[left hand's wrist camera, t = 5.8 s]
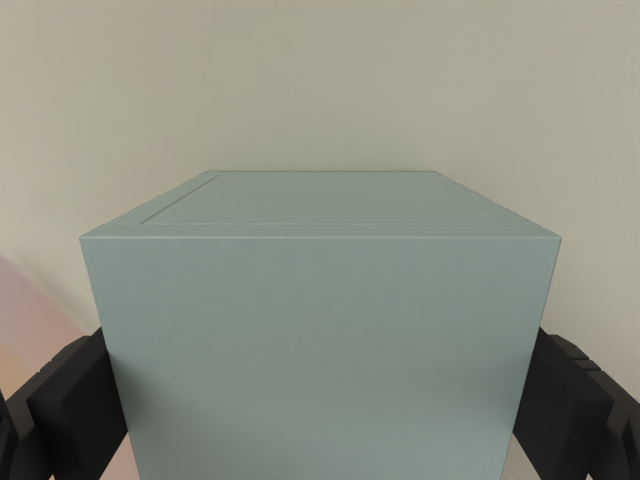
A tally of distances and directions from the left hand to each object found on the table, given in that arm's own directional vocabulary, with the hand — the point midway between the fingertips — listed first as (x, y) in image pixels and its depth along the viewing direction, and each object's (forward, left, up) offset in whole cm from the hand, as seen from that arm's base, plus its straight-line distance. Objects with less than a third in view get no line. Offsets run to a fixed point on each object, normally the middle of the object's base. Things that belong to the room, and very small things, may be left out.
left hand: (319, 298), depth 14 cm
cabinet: (+6, -1, -4) cm, 7 cm away
